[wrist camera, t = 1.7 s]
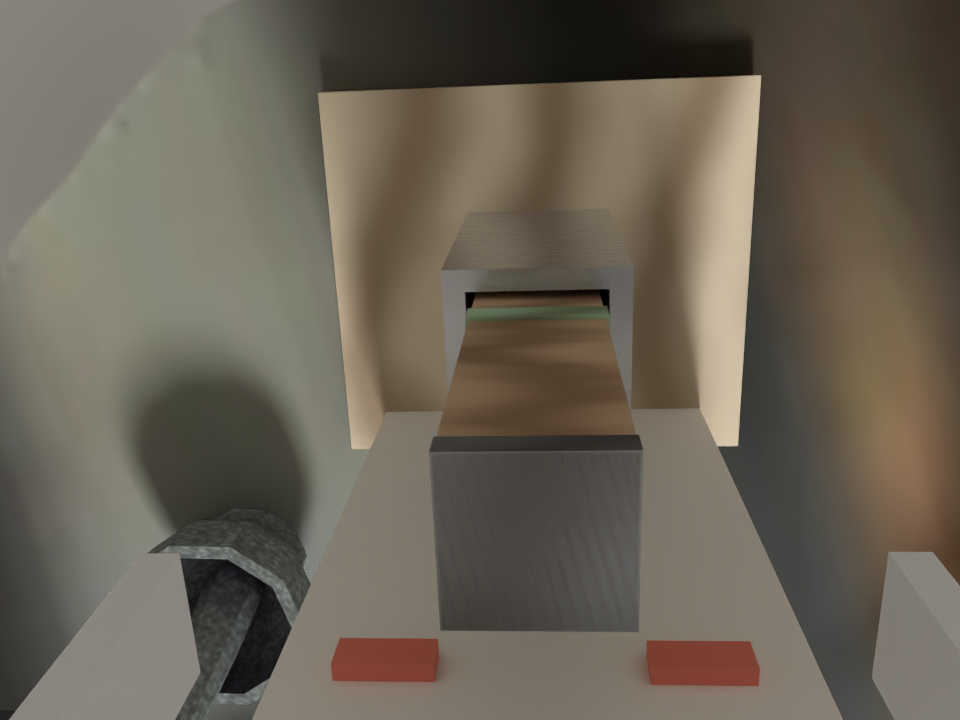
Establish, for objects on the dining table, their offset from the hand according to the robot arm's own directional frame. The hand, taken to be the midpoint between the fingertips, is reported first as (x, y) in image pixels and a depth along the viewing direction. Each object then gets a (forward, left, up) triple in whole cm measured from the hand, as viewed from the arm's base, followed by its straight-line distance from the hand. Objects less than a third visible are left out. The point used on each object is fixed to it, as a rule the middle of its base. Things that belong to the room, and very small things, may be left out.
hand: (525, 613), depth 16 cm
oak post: (0, 0, -27) cm, 27 cm away
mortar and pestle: (+17, +17, -29) cm, 38 cm away
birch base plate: (0, 0, -29) cm, 29 cm away
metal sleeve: (0, 0, -27) cm, 27 cm away
